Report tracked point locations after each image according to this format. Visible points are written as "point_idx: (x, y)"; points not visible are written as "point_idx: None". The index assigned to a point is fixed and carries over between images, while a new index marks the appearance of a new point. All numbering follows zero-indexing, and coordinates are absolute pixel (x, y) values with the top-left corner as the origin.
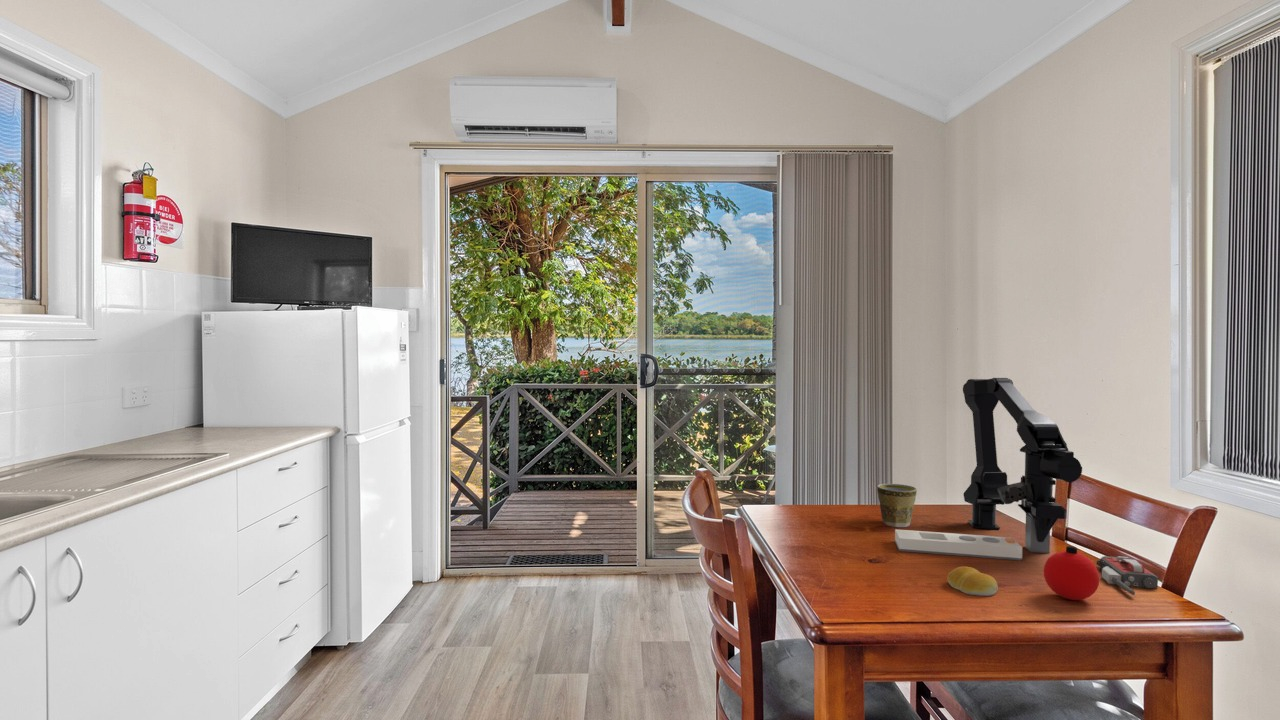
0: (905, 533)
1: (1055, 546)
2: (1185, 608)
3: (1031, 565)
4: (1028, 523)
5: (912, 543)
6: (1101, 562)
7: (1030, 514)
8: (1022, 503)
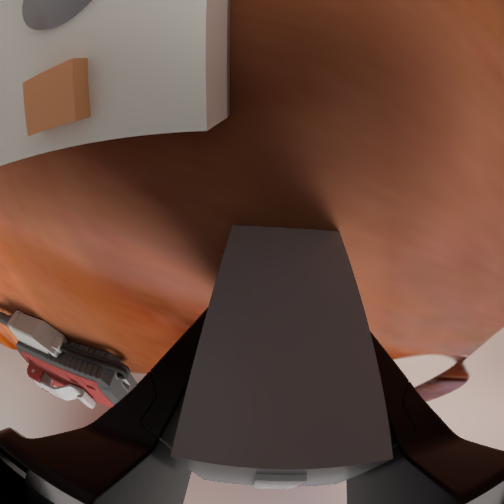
0: None
1: None
2: (5, 339)
3: (18, 170)
4: (284, 385)
5: None
6: (95, 367)
7: (3, 445)
8: (492, 500)
